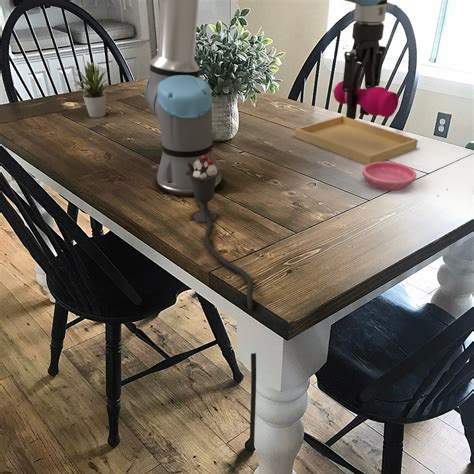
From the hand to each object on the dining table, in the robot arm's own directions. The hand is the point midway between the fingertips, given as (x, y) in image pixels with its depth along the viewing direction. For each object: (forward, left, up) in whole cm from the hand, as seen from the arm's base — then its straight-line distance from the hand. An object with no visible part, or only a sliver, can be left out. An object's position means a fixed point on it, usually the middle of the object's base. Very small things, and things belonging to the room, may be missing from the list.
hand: (357, 115), depth 150 cm
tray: (0, 0, -8) cm, 8 cm away
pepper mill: (-9, -5, +5) cm, 12 cm away
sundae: (-39, +46, -8) cm, 61 cm away
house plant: (+38, +74, -8) cm, 84 cm away
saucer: (-28, +1, -8) cm, 29 cm away
